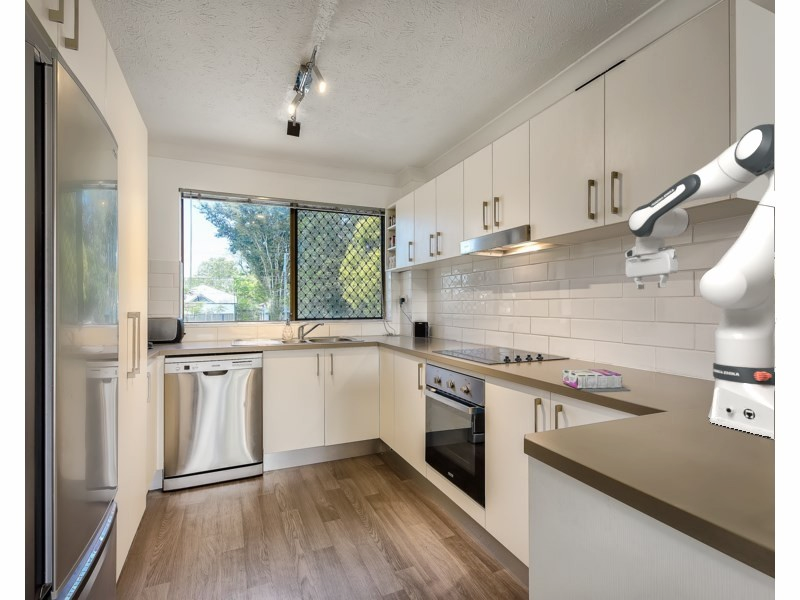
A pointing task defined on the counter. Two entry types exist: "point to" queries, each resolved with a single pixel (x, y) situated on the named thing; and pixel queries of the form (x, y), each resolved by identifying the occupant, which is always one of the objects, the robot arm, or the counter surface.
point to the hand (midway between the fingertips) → (650, 288)
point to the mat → (602, 389)
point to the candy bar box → (592, 378)
